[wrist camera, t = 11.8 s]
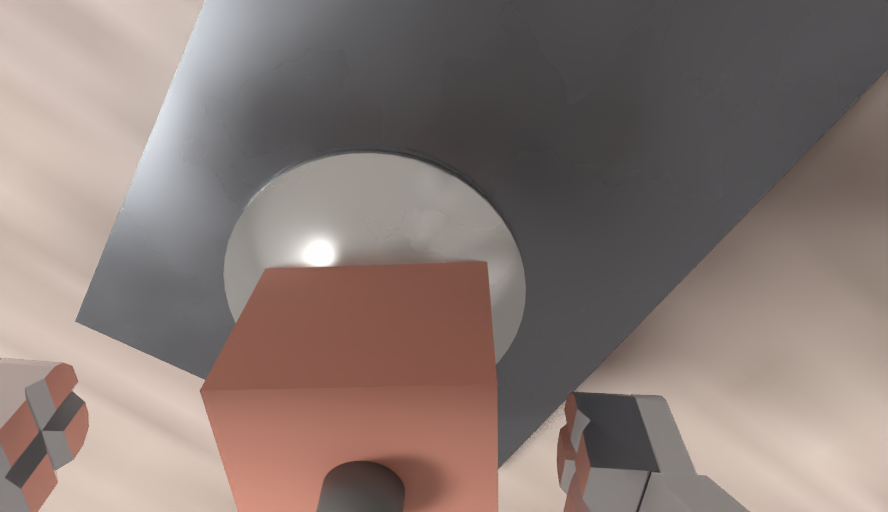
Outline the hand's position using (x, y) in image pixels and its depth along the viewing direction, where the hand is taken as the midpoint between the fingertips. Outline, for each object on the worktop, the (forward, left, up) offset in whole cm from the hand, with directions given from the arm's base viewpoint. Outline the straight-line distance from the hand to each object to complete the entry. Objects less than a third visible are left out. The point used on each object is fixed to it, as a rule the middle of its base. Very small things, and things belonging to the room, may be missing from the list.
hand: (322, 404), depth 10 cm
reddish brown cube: (+2, +2, -5) cm, 5 cm away
